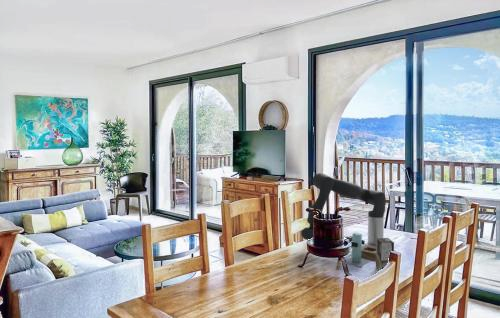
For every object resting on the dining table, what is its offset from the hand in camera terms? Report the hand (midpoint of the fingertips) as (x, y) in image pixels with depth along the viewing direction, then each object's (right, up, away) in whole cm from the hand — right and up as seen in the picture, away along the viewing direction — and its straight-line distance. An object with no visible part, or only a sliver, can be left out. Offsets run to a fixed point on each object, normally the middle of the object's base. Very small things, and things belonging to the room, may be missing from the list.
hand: (360, 243), depth 210 cm
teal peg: (-2, -10, +2) cm, 10 cm away
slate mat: (-2, -11, +2) cm, 11 cm away
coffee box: (+9, -12, -12) cm, 19 cm away
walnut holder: (+9, -10, +13) cm, 19 cm away
